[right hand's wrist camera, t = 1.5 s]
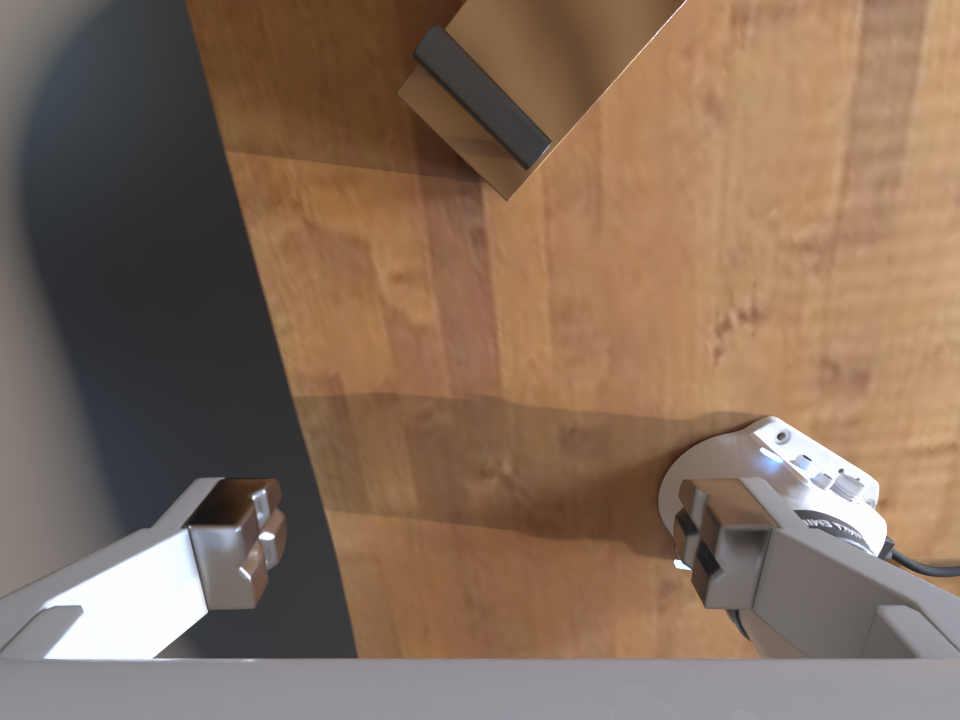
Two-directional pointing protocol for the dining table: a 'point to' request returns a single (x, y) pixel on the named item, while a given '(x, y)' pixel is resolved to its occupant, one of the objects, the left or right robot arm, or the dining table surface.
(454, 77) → the lid
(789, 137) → the dining table surface
